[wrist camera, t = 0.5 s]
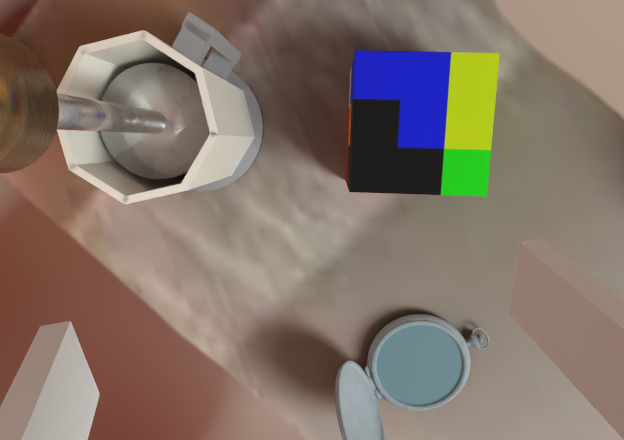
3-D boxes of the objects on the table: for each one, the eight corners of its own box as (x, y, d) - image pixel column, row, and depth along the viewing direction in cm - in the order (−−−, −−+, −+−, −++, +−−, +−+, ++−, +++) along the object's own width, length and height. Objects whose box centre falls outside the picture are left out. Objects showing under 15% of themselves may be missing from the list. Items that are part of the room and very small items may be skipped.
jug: (184, 19, 43) (106, -45, 28) (296, 92, 43) (277, 67, 29) (114, 146, 45) (8, 149, 30) (222, 214, 46) (169, 249, 31)
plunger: (137, 42, 33) (-231, -146, 11) (235, 104, 33) (58, 37, 12) (85, 140, 34) (-335, 137, 13) (179, 199, 35) (-71, 294, 13)
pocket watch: (323, 402, 37) (507, 331, 35) (325, 343, 47) (466, 287, 46) (373, 508, 38) (553, 444, 36) (364, 427, 49) (502, 375, 47)
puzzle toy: (350, 71, 43) (355, 50, 33) (460, 73, 43) (499, 53, 33) (345, 180, 45) (349, 191, 35) (452, 183, 44) (486, 196, 34)
